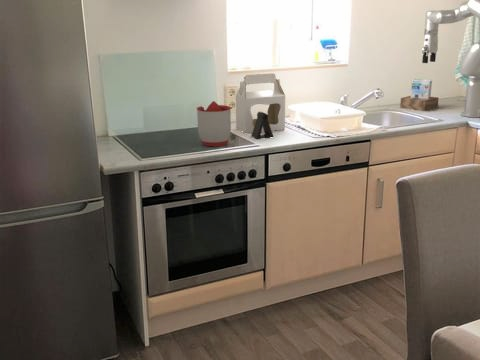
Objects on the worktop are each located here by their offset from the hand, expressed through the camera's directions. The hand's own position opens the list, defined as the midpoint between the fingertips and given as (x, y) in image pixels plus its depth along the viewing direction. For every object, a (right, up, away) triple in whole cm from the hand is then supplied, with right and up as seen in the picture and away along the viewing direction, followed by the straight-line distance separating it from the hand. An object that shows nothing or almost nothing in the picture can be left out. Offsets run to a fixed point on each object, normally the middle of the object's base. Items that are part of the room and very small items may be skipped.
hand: (428, 62), depth 330 cm
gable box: (-102, -44, -45) cm, 119 cm away
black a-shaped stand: (-101, -49, -61) cm, 128 cm away
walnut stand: (-4, -26, +6) cm, 27 cm away
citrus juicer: (-124, -53, -73) cm, 154 cm away
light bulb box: (-3, -21, +5) cm, 21 cm away
